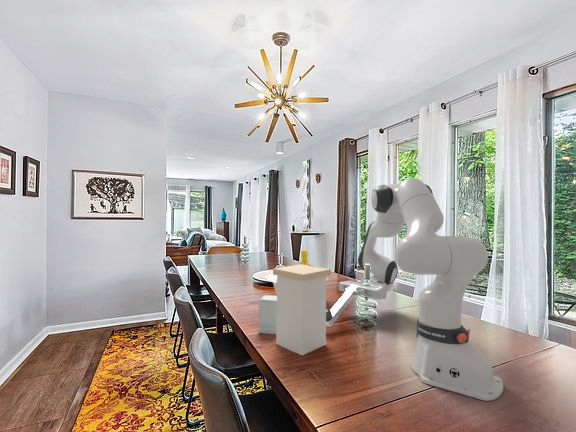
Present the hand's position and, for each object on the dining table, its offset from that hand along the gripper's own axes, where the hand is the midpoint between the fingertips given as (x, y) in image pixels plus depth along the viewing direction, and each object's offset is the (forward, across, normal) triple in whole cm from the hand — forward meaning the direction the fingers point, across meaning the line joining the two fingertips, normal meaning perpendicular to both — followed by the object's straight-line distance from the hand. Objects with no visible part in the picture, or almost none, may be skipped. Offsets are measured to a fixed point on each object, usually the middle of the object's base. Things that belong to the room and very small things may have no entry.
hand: (350, 292), depth 130 cm
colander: (-6, -37, +13) cm, 40 cm away
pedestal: (+30, 0, +14) cm, 33 cm away
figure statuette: (-40, -60, +12) cm, 73 cm away
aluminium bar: (+4, 0, +5) cm, 6 cm away
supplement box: (+29, -17, +14) cm, 36 cm away
